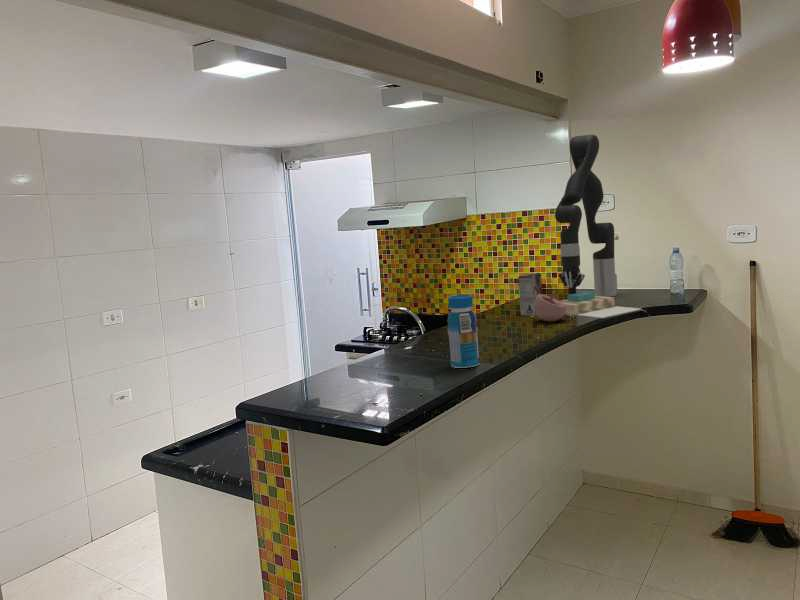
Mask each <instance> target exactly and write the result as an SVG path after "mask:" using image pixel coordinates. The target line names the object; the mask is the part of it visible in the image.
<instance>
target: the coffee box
mask: <svg viewBox="0 0 800 600" xmlns="http://www.w3.org/2000/svg"><path fill="white" fill-rule="evenodd" d="M517 279H518V291H519V292H518V293H519V305H520V306H519V308H520V309H519V310H520V316H527V317H528V316H529V317H530V316H531V317H533V316H534V317H535V316H537V315H536V313H535V310H534V301H535V298H536V297H537V295H538V294H543V289H542V273H540V272H539V273H525V274H522V275H519V276H518V278H517Z"/></svg>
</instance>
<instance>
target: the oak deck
mask: <svg viewBox="0 0 800 600" xmlns="http://www.w3.org/2000/svg"><path fill="white" fill-rule="evenodd" d="M559 301H560V302H562V303H564V304H566V305H567V309H566V312H565V314H564V315H567V316H568V315H569V316H578V314H583V313H588V312H592V311H597V310H602V309H607V308H611V307H616V305H615V296H612V297H603V296H595V299H592V300H587V301H582V302H573V301H568V298H565V299H561V300H559Z"/></svg>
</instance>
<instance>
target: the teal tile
mask: <svg viewBox="0 0 800 600" xmlns="http://www.w3.org/2000/svg"><path fill="white" fill-rule="evenodd" d="M566 297H567V298H566V299H568V301H573V302H582V301H587V300H592V299H595V292H589V291H588V292H586V291H580V292H576V293H575V294H570V295H569V294H567V296H566Z"/></svg>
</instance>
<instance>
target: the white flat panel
mask: <svg viewBox="0 0 800 600" xmlns="http://www.w3.org/2000/svg"><path fill="white" fill-rule="evenodd" d="M641 310H642V308H639V307H638V308H637V307H628V306H627V307H626V306H618V305H617V306H616V305H615V307H611V308H607V309H602V310H597V311H592V312H588V313H583V314H578V315H577V316H579V317H585V316H586V318H595V319H607V318H611V317H616V316H620V315H624V314H628V313H629V314H630V313H634V312H638V311H641Z"/></svg>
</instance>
